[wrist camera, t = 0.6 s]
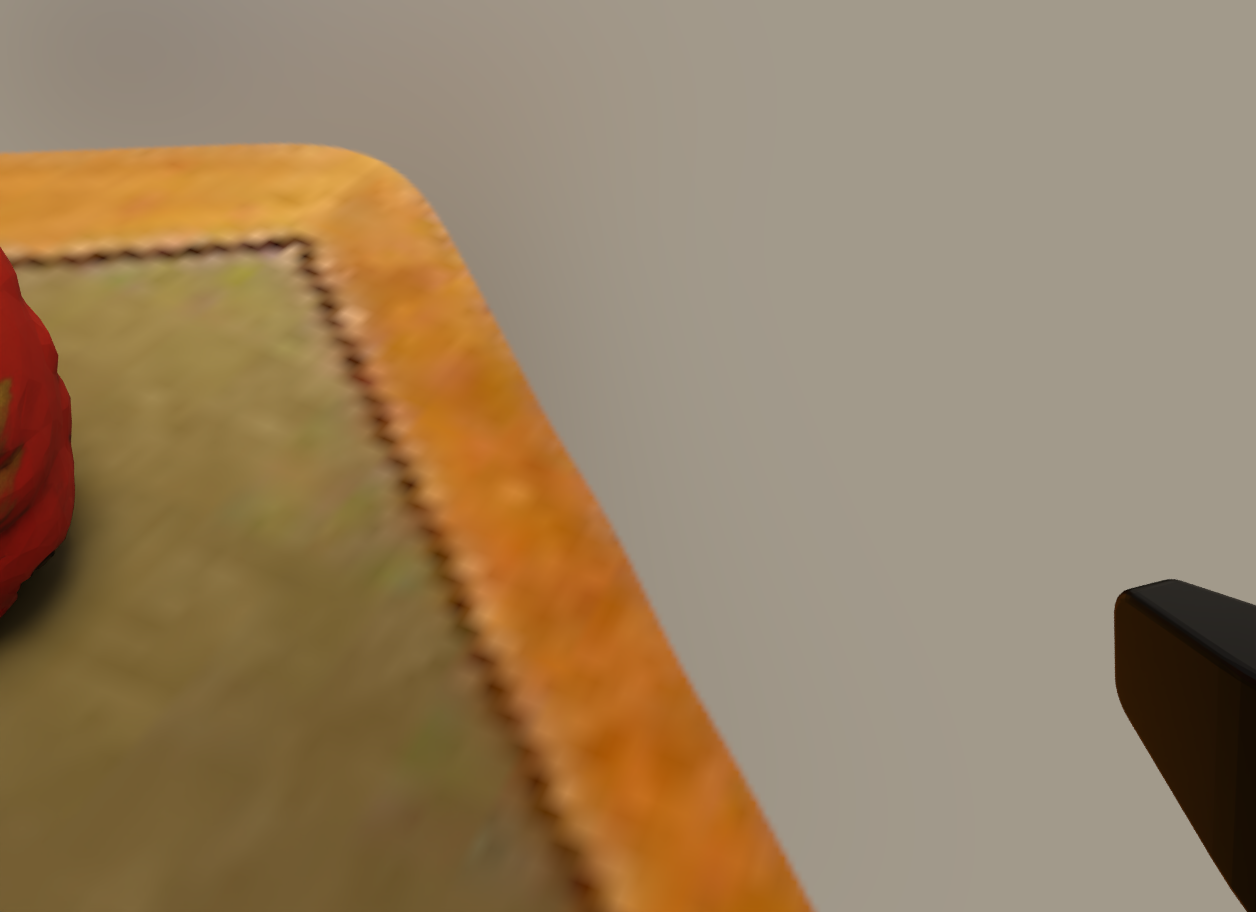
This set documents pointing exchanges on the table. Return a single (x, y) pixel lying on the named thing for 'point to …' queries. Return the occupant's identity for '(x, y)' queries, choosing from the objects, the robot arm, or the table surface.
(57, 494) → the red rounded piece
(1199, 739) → the robot arm
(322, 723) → the table surface
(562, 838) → the table surface
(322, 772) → the table surface
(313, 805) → the table surface
